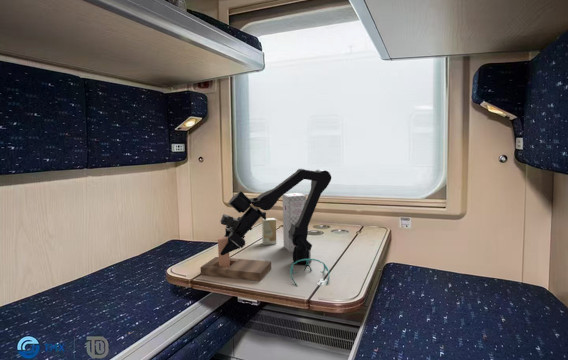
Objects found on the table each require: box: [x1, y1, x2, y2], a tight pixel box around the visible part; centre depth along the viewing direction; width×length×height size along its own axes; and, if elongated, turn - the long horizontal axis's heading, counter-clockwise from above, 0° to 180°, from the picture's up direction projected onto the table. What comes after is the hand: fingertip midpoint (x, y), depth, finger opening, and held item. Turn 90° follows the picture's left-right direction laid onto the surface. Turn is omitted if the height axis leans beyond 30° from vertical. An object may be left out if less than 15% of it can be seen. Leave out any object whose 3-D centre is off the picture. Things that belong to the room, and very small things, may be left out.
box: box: [281, 192, 307, 253], centre depth 159 cm, size 8×8×25 cm
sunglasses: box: [289, 258, 330, 287], centre depth 125 cm, size 14×15×5 cm
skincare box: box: [261, 217, 277, 246], centre depth 168 cm, size 6×4×12 cm
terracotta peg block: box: [217, 236, 231, 267], centre depth 133 cm, size 4×4×13 cm
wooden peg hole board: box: [199, 256, 272, 282], centre depth 132 cm, size 24×12×3 cm, turn 73°
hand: (220, 250), depth 133 cm, fingers open, 9 cm apart
